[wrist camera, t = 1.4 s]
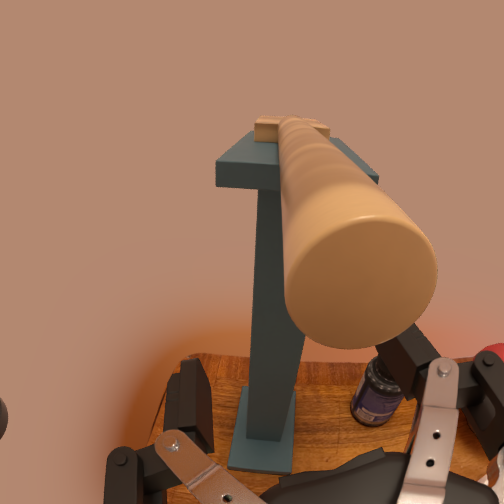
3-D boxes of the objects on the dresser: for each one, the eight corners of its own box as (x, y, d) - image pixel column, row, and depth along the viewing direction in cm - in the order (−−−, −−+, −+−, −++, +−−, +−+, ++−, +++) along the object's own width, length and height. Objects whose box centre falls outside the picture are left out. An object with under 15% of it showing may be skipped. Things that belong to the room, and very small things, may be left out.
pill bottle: (398, 419, 33) (433, 366, 28) (360, 433, 32) (391, 382, 27) (378, 387, 39) (405, 332, 33) (342, 398, 37) (364, 343, 32)
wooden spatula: (481, 344, 4) (530, 236, 3) (170, 339, 4) (149, 202, 3) (314, 133, 24) (316, 112, 23) (259, 129, 24) (260, 108, 23)
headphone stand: (227, 469, 28) (215, 160, 13) (242, 390, 39) (250, 130, 23) (290, 475, 27) (379, 175, 12) (294, 395, 38) (339, 138, 23)
